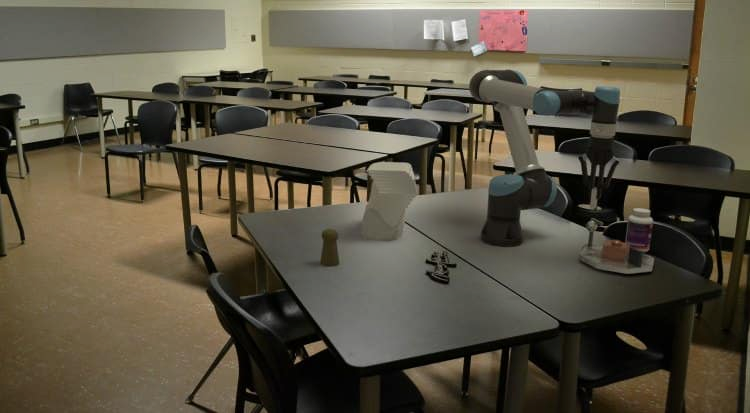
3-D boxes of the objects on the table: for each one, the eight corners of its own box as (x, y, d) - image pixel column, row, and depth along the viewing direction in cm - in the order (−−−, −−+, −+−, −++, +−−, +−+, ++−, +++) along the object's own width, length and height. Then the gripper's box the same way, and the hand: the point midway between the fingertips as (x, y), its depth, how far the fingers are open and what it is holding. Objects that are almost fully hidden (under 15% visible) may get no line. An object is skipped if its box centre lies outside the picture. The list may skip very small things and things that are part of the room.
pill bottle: (651, 254, 216) (657, 214, 212) (626, 252, 217) (631, 212, 214) (646, 247, 224) (651, 208, 220) (622, 245, 225) (627, 206, 222)
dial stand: (580, 250, 218) (584, 220, 215) (585, 246, 223) (588, 216, 220) (599, 254, 215) (602, 223, 212) (603, 249, 220) (606, 219, 217)
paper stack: (353, 240, 222) (354, 169, 216) (371, 220, 248) (373, 156, 241) (412, 246, 218) (415, 173, 211) (424, 225, 243) (428, 160, 237)
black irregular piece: (461, 281, 184) (427, 280, 184) (461, 286, 184) (427, 285, 184) (453, 251, 210) (423, 250, 211) (452, 255, 211) (423, 254, 211)
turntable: (567, 253, 212) (569, 234, 210) (621, 248, 219) (623, 229, 217) (610, 275, 192) (612, 255, 190) (668, 269, 199) (671, 249, 197)
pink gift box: (601, 256, 204) (603, 242, 203) (606, 251, 210) (608, 236, 209) (624, 260, 201) (626, 246, 199) (628, 255, 206) (630, 240, 205)
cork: (342, 261, 201) (342, 228, 198) (334, 267, 195) (335, 233, 193) (324, 259, 203) (325, 226, 200) (317, 265, 197) (317, 231, 194)
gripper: (578, 135, 200) (569, 206, 206) (621, 139, 193) (611, 213, 200) (584, 132, 206) (575, 202, 212) (625, 137, 200) (616, 208, 206)
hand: (592, 207), depth 206 cm, fingers closed
